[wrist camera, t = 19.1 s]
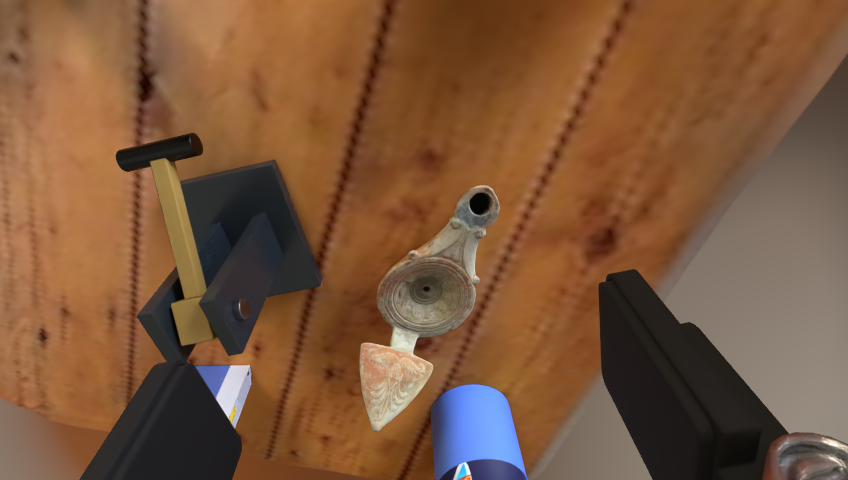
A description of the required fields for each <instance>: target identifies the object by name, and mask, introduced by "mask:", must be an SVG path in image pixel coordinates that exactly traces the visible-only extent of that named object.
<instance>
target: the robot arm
mask: <svg viewBox="0 0 848 480" xmlns="http://www.w3.org/2000/svg"><path fill="white" fill-rule="evenodd" d="M599 312H600V340H601V367H602V375H603V379H604V382H605V385H606V387H607V389H608V391H609V393H610V395H611V397H612V399H613V401H614V403H615V405H616V407H617V409H618V411H619V413H620V415H621V417H622V419H623V421H624V423H625V425H626V427H627V429H628V431H629V433H630V435H631V437H632V439H633V441H634V443H635V445H636V447H637V449H638V451H639V453H640V455H641V457H642V459H643V461H644V463H645V465H646V467H647V469H648V471H649V473H650V475H651V477H652V479H653V480H848V444H846V443H844V442H842V441H839V440H837V439H834V438H832V437H828V436H824V435H820V434H815V433H799V432H795V433H791V434H789V433H788V432H787V431H786V430H785V428H784V427H783V426H782V425H781V424H780V423H779V421H778V420H777V419H776V418H775V417H774V416H773V415H772V413H771V412H770V411H769V410H768V409H767V407H766V406H765V405H764V404H763V403H762V402H761V400H760V399H759V398H758V397H757V396H756V394H755V393H754V392H753V391H752V390H751V389H750V387H749V386H748V385H747V384H746V383H745V382H744V380H743V379H742V378H741V377H740V376H739V375H738V373H737V372H736V371H735V370H734V369H733V368H732V366H731V365H730V364H729V363H728V362H727V361H726V359H725V358H724V357H723V356H722V355H721V354H720V352H719V351H718V350H717V349H716V348H715V347H714V345H713V344H712V343H711V342H710V341H709V340H708V338H707V337H706V336H705V335H704V334H703V332H702V331H701V330H700V329H699V328H698V327H697V326H696V325H694V324H692V323H690V322H688V323H683V324H680V323H679V322H678V320H676V318H675V317H674V315H673V314H672V313H671V312H670V311H669V309H668V308H667V307H666V306H665V304H664V303H663V302H662V301H661V299H660V298H659V297H658V296H657V294H656V293H655V292H654V291H653V290H652V288H651V287H650V286H649V285H648V283H647V282H646V281H645V280H644V278H643V277H642V276H641V275H640V274H639V272H638V271H637V270H634V269H632V270H627V271H622V272H617V273H612V274H608V275H607V277H606V282H601V283H599ZM241 451H242V442H241V438H240V436H239V435H238V433H237V431H236V430H235V428H234V427H233V425H232V423H231V422H230V420H229V419H228V417H227V416H226V414H225V412H224V411H223V409H222V408H221V406H220V405H219V403H218V401H217V400H216V398H215V397H214V395H213V394H212V392H211V390H210V389H209V387H208V386H207V384H206V383H205V381H204V379H203V378H202V376H201V375H200V373H199V371H198V370H197V368H196V367H195V366H194V365H192V364H188V362H187V361H185V360H182V359H179V360H174V361H169V362H164V363H159V364H157V365H155V366H154V367H153V368H152V369H151V370H150V372H149V373H148V375H147V376H146V378H145V379H144V381H143V383H142V384H141V386H140V387H139V389H138V390H137V392H136V393H135V395H134V396H133V398H132V399H131V401H130V403H129V404H128V406H127V407H126V409H125V410H124V412H123V413H122V415H121V416H120V418H119V419H118V421H117V423H116V424H115V426H114V427H113V429H112V430H111V432H110V433H109V435H108V436H107V438H106V440H105V441H104V443H103V444H102V446H101V447H100V449H99V450H98V452H97V453H96V455H95V457H94V458H93V460H92V461H91V463H90V464H89V466H88V467H87V469H86V470H85V472H84V473H83V475H82V476H81V478H80V480H232V478H233V475H234V472H235V469H236V466H237V463H238V461H239V458H240V455H241Z"/></svg>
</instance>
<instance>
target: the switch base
mask: <svg viewBox="0 0 848 480" xmlns="http://www.w3.org/2000/svg"><path fill="white" fill-rule="evenodd" d="M180 185H181V189H182V193H183V197H184V201H185V205H186V209H187V213H188V217H189V220H190V224H191V228H192V232H193V236H194V240H195V244H196V248H197V252H198V256H199V260H200V264H201V268H202V272H203V276H204V280H205V284H206V288H207V290H206V292H205V294H204V295H203V297H202V298H201V300H200V301H199V305H200V307H201V309H202V311H203V312H204V314H205V316H206V318H207V319H208V321H209V323H210V325H211V326H212V328H213V330H214V331H215V333H216V335H217V337H218V338H219V340H220V342H221V344H222V345H223V347H224V349H225V351H226V352H227V354H228V356H231V355H236V354H241V353H243V351H244V349H245V347H246V344H247V342H248V340H249V337H250V335H251V333H252V330H253V328H254V326H255V323H256V321H257V319H258V316H259V314H260V312H261V309H262V307H263V305H264V302H265V300H266V298H267V297H270V296H275V295H280V294H285V293H290V292H295V291H299V290H304V289H309V288H314V287H319V286H321V282H322V277H321V274H320V272H319V269H318V267H317V264H316V262H315V259H314V257H313V254H312V251H311V249H310V246H309V244H308V241H307V239H306V236H305V234H304V231H303V229H302V226H301V224H300V221H299V219H298V216H297V214H296V211H295V209H294V206H293V204H292V201H291V198H290V196H289V193H288V191H287V188H286V186H285V183H284V181H283V178H282V176H281V173H280V171H279V168H278V166H277V163H276V161H275V160H271V161H266V162H262V163H258V164H253V165H249V166H244V167H240V168H236V169H231V170H227V171H223V172H218V173H214V174H209V175H205V176H201V177H196V178H192V179H187V180H183V181H180ZM183 299H185V297H184V294H183V290H182V286H181V282H180V278H179V274H178V270H177V266H176V267H175V268H174V270H173V271H172V272H171V273H170V275H169V276H168V277H167V278H166V280H165V281H164V282H163V283H162V285H161V286H160V287H159V288H158V290H157V291H156V292H155V293H154V295H153V296H152V297H151V298H150V300H149V301H148V302H147V303H146V305H145V306H144V307H143V308H142V310H141V311H140V312H139V313H138V315H137V318H138V319H139V321H140V322H141V324H142V325H143V327H144V328H145V330H146V331H147V333H148V334H149V336H150V337H151V339H152V340H153V342H154V343H155V345H156V346H157V348H158V349H159V351H160V352H161V354H162V355H163V357H164V358H165V360H166V361H167V362H169V361H174V360H179V359H182V360H185V361H187V359H188V357H189V356H190V354H191V352H192V350H193V349H194V347H195V345H196V343H194V344H189V345H184V346H182V345H181V342H180V338H179V334H178V330H177V327H176V323H175V319H174V315H173V311H172V307H171V304H172V303H175V302H178V301H180V300H183Z"/></svg>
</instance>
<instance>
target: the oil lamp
mask: <svg viewBox="0 0 848 480" xmlns="http://www.w3.org/2000/svg"><path fill="white" fill-rule="evenodd" d="M499 210H500V206H499V201H498V198H497V196H496V194H495V192H494V191H493V190H492V189H491V188H490V187H489V186H486V185H483V186H476V187H473V188H471V189H469V190H468V191H466V192H465V193H464V194H463V195H462V196H461V197H460V198H459V200H458V202H457V204H456V207H455V211H454V215H453V217H451V218H450V219H449V223H448V224H447V225H446V227H445V228H444V229H442V230H441V231H440V232H439V233H438V234H437V235H436V236H434V237H433V238H432V239H431V240H429V241H428V242H427V243H425V244H424V245H423V246H421V247H420V248H418V249H416V250H410V251H409V252H408V255H407V256H405V257H404V258H403V259H401V260H400V261H399V262H398V263H396V264H395V265H394V266H393V267H392V268H391V269H390V270H389V271H387V273H386V274H385V275H384V277H383V278H382V280H381V282H380V284H379V286H378V289H377V296H376V299H377V306H378V310H379V312H380V314H381V316H382V317H383V319H384V320H385V321H386V322H387V323H388V324H389V325H390V326H391V327H392V328H393V333H392V337H391V341H390V346H389V347H387V346H382V345H378V344H373V343H362V344H361V348H360V357H359V366H360V380H361V387H362V393H363V399H364V403H365V407H366V411H367V414H368V417H369V420H370V423H371V426H372V429H373V431H375V432H378V431H380V430H381V429H382V428H383V427H384V426H385V425H386V424H387V423H388V422H390V421H391V420H392V419H393V418H394V417H396V416H397V415H398V414H399V413H400V412H401V411H402V410H404V409H405V408H406V407H407V405H408V404H409V403H410V402H411V401H412V400H413V399H414V398H415V397H416V395H417V394H418V393H419V392H420V390H421V389H422V388H423V386H424V385H425V383H426V382H427V380H428V379H429V377H430V375H431V373H432V370H433V365H432V364H431V363H429V362H427V361H425V360H423V359H421V358H419V357H417V356H415V355H414V354H413V351H414V346H415V343H416V340H417V338H420V337H433V336H438V335H441V334H444V333H446V332H449V331H451V330H453V329H455V328H456V327H458V326H459V325H460V324H461V323H463V322H464V321H465V319H466V318H467V317H468V316H469V314H470V312H471V311H472V309H473V306H474V302H475V287H474V285H475V284H478V283H479V282H480V279H479V277H477V276H476V275H475V256H476V250H477V245H478V242H479V239H480V238H484V236H485V234H486V229H487V228H488V227H490V226H491V225H492V224H493V223H494V222H495V221H496V219H497V217H498V214H499Z"/></svg>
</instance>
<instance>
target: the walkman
mask: <svg viewBox="0 0 848 480" xmlns="http://www.w3.org/2000/svg"><path fill="white" fill-rule="evenodd" d="M195 367H196V368H197V370H198V371H199V373H200V375H201V376H202V378H203V379H204V381H205V383H206V384H207V386H208V387H209V389H210V390H211V392H212V394H213V395H214V397H215V398H216V400H217V401H218V403H219V405H220V406H221V408H222V409H223V411H224V412H225V414H226V416H227V417H228V419H229V420H230V422H231V423H232V425H233V427H234V428H235V427H236V424H237V421H238V419H239V416H240V413H241V411H242V408H243V405H244V403H245V400H246V397H247V395H248V392H249V389H250V387H251V384H252V383H251V375H252V374H251V369H250V365H231V366H195Z"/></svg>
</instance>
